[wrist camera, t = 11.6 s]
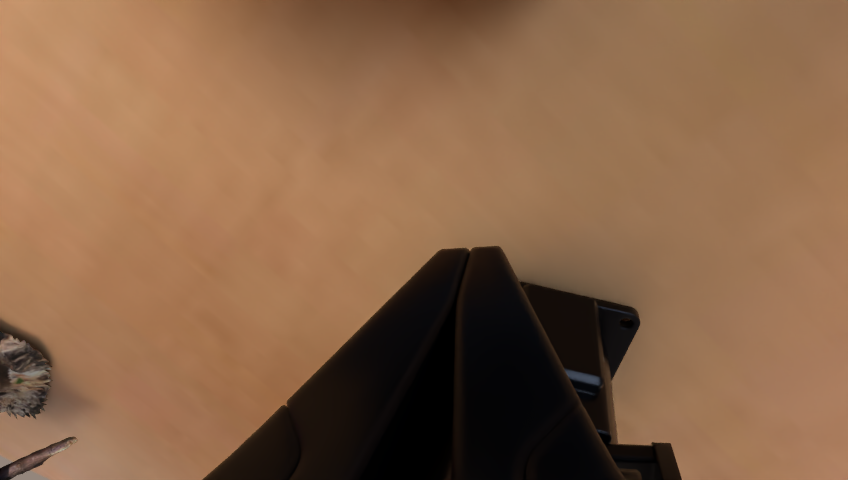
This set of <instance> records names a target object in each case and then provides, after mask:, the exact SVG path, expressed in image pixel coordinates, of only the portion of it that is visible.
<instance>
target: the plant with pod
mask: <svg viewBox="0 0 848 480" xmlns="http://www.w3.org/2000/svg"><path fill="white" fill-rule="evenodd" d="M47 362H49V361H48V360H46V359H44V358H43V356H42V353H40V352H39V351H38V350H36V349H33V347H30V343H27V344H26V342H25V340H23V341H22V342H20V341H19V340H18V339H17V338H16V339H15V340H14V338H13V337H12V335H10V334H7V333H2V332H1V331H0V412H5V411H6V412H7V413H8V415H9V416H10V415H11V413H12V414H14V415H15V417H16V418H17V415H16V414H18V415H20V416H22V417H24V416H25V415H27V416H28V417H30V415H29V413H30V414H31V415H32V416H33V417H34V418H35V419H36V417H35V414H39V413H40V409H42V410H44V408H43V405H47V404H44V403H42V402H44V401H46V400H47V398H46V397H45V395H47V392H48V389H49V388H50V387H51V386H48V385H45V384H43V383H46V382H50V381H52V380H51V379H49V378H48V377H50V375H49V374H47V373H48V372H47V371H45V369H51V368H49V367H52V366H50V365H48V364H45V363H47ZM44 411H45V410H44ZM76 441H77V438H76V437H69V438H66V439H64V440H62V441H60V442H57V443H54V444H52V445H50V446H48V447H46V448H44V449H41V450H38V451H36V452H33V453H31V454H30V455H28V456H26V457H23V458H21V459H18V460H17V461H15V462H13V463H11V464H8V465H6V466H4V467H2V468H0V480H10V479H12V478H13V477H15V476H16V475H19V474H23V473H24V472H26V471H29V470H31V469H33V468H36V467H38V466H40V465H42V464H43V462H44V461H46V460H47V459H48V458H50V457H51V456H53V455H54V454H56V453H59V452H61V451H63V450H65V449H67V448H68V447H69V446H71V445H72V444H73V443H76Z"/></svg>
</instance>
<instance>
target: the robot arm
mask: <svg viewBox="0 0 848 480" xmlns="http://www.w3.org/2000/svg"><path fill="white" fill-rule="evenodd" d="M625 318H627V319H630V320H629V321H621V320H622V319H625ZM639 326H640V319H639V314H638V312H637V311H636V310H635V309H634V308H632V307H629V306H624V305H620V304H615V303H611V302H607V301H602V300H598V299H594V298H589V297H585V296H581V295H576V294H572V293H568V292H563V291H559V290H555V289H550V288H546V287H542V286H537V285H533V284H529V283H524V282H520V281H518V279H517V277H516V275H515V273H514V271H513V269H512V267H511V265H510V263H509V261H508V259H507V258H506V256H505V254H504V252H503V250H502V249H501V247H499V246H487V247H475V248H472V249H471V251H469V249H467V248H454V249H442V250H440V251H438V252H437V253H436V254H435V255H434V256H433V257H432V258H431V259H430V260H429V261H428V262H427V263H426V264H425V265H424V266H423V267H422V268H421V269H420V270H419V271H418V272H417V273H416V274H415V275H414V276H413V277H412V278H411V279H410V280H409V281H408V282H407V283H406V284H405V285H404V286H403V287H402V288H401V289H400V290H399V291H398V292H397V293H396V294H394V295H393V296H392V297H391V298H390V299H389V300H388V301H387V302H386V303H385V304H384V305H383V306H382V307H381V308H380V309H379V310H378V311H377V312H376V313H375V314H374V315H373V316H372V317H371V318H370V319H369V320H368V321H367V322H366V323H365V324H364V325H363V326H362V327H361V328H360V329H359V330H358V331H357V332H356V333H355V334H354V335H353V336H352V337H351V338H350V339H349V340H348V341H347V342H346V343H345V344H344V345H343V346H342V347H341V348H340V349H339V350H338V351H337V352H336V353H335V354H334V355H333V356H332V357H331V358H330V359H329V360H328V361H327V362H326V363H325V364H324V365H323V366H322V367H321V368H320V369H319V370H318V371H317V372H316V373H315V374H314V375H313V376H312V377H311V378H310V379H309V380H308V381H307V382H306V383H305V384H304V385H303V386H302V387H301V388H300V389H299V390H298V391H297V392H296V393H295V394H294V395H293V396H292V397H290V398H289V399H288V401H287V406H285V405H283V406H281V407H280V408H279V409H278V410H277V411H276V412H275V413H274V414H273V415H272V416H271V417H270V418H269V419H268V420H267V421H266V422H265V423H264V424H263V425H262V426H261V427H260V428H259V429H258V430H257V431H256V432H255V433H253V434H252V435H251V436H250V437H249V438H248V439H247V440H246V441H245V442H244V443H243V444H242V445H241V446H240V447H239V448H238V449H237V450H235V451H234V452H233V453H232V454H231V455H230V456H229V457H228V458H227V459H226V460H225V461H223V462H222V463H221V464H220V465H219V466H218V467H216V468H215V469H214V470H213V471H212V472H211V473H210V474H208V475H207V476H206V477H205V478H204V479H203V480H682V479H681V476H680V472H679V469H678V466H677V463H676V459H675V456H674V453H673V450H672V446H671V444H670V443H652V445H651V446H650V445H625V444H618V440H617V431H616V421H615V412H614V403H613V394H612V384H611V380H612V378H613V376H614V375H615V373H616V371H617V369H618V367H619V365H620V363H621V361H622V359H623V357H624V355H625V353H626V351H627V349H628V347H629V345H630V344H631V342H632V340H633V338H634V336H635V334H636V332H637V330H638V328H639Z"/></svg>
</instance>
